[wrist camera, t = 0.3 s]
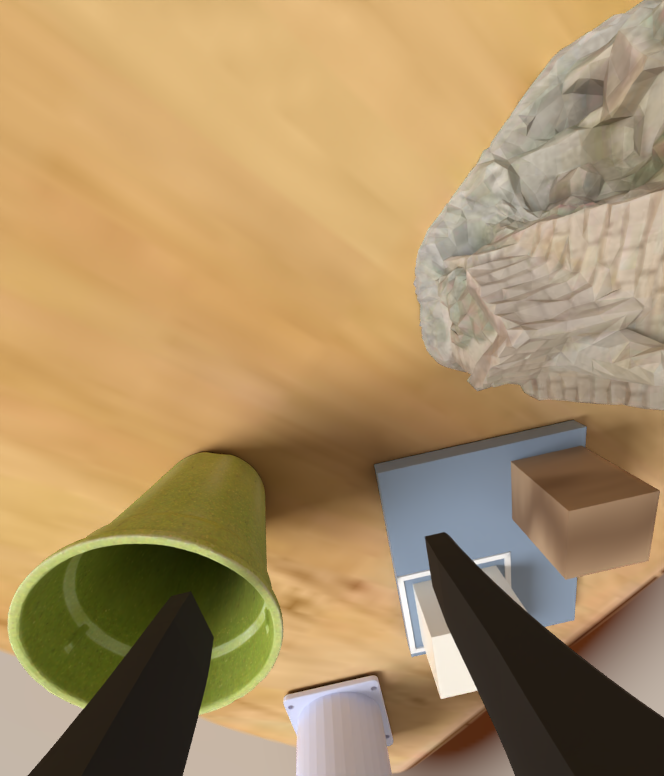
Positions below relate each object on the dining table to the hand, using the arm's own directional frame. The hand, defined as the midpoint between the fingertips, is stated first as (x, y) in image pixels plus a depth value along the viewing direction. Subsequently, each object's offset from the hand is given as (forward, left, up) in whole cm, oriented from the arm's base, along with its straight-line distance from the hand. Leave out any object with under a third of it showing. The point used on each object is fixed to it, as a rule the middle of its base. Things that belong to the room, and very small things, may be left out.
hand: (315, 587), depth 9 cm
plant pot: (-2, +7, -10) cm, 12 cm away
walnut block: (-6, -14, -9) cm, 18 cm away
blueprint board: (-11, -10, -10) cm, 18 cm away
